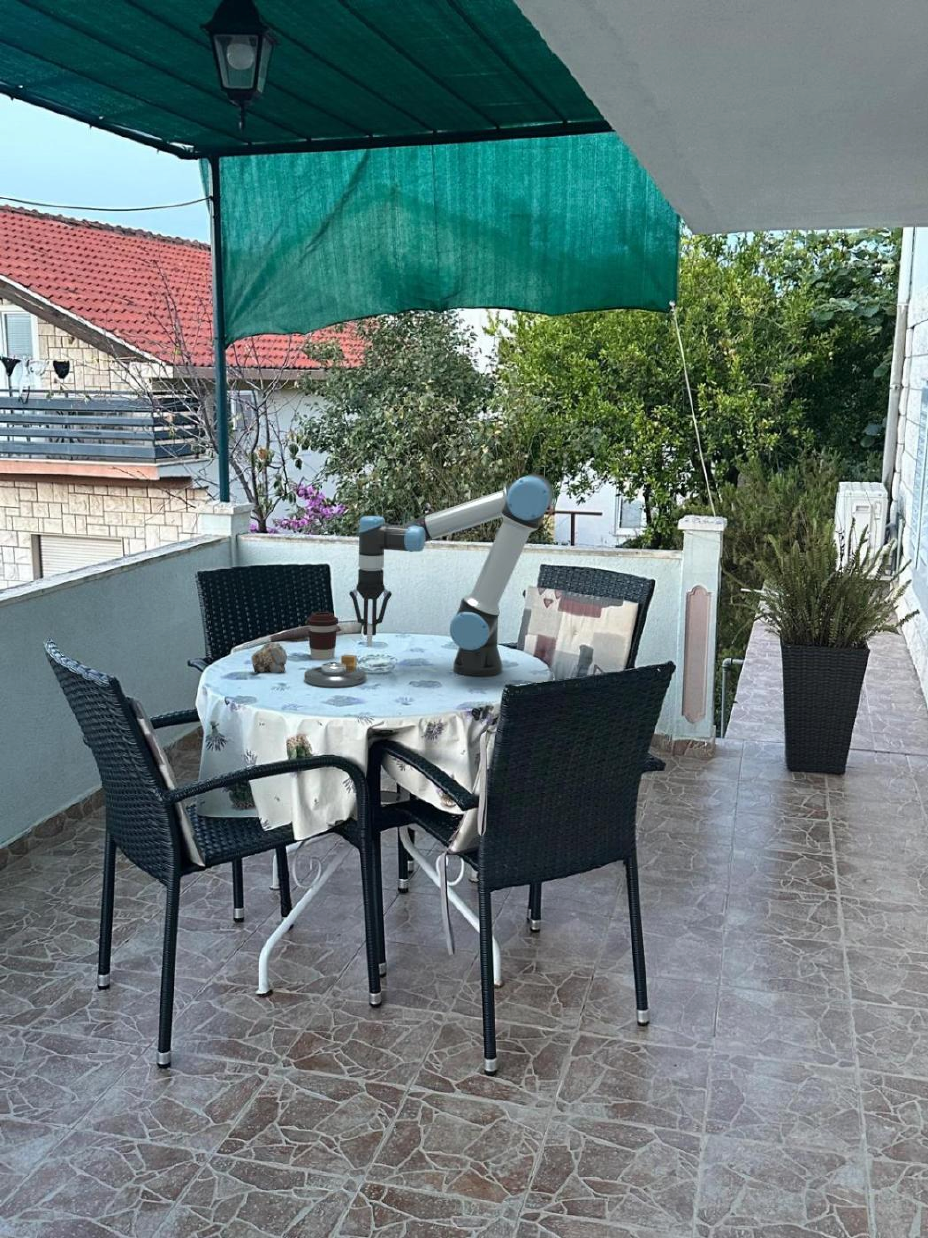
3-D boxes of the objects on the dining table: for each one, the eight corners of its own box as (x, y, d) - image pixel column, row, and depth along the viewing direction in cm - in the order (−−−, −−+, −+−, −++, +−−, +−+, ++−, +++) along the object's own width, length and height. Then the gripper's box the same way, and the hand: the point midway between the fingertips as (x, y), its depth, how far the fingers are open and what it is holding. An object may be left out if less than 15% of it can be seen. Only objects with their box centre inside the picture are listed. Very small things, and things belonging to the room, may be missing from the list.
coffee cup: (332, 664, 364) (332, 617, 361) (302, 662, 366) (302, 615, 363) (342, 657, 374) (342, 611, 371) (312, 655, 375) (312, 609, 372)
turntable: (378, 673, 350) (378, 657, 349) (352, 690, 331) (352, 673, 330) (323, 668, 355) (323, 652, 354) (294, 684, 336) (294, 667, 335)
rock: (268, 677, 358) (246, 654, 355) (297, 654, 356) (275, 631, 353) (267, 688, 349) (244, 664, 346) (296, 665, 348) (274, 641, 345)
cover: (349, 671, 344) (349, 661, 343) (340, 677, 337) (340, 666, 337) (327, 669, 346) (327, 659, 345) (318, 675, 339) (317, 664, 339)
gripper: (392, 566, 350) (390, 643, 355) (348, 566, 349) (347, 642, 354) (393, 571, 343) (391, 648, 348) (349, 570, 342) (347, 648, 346)
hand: (369, 645), depth 351 cm, fingers closed
